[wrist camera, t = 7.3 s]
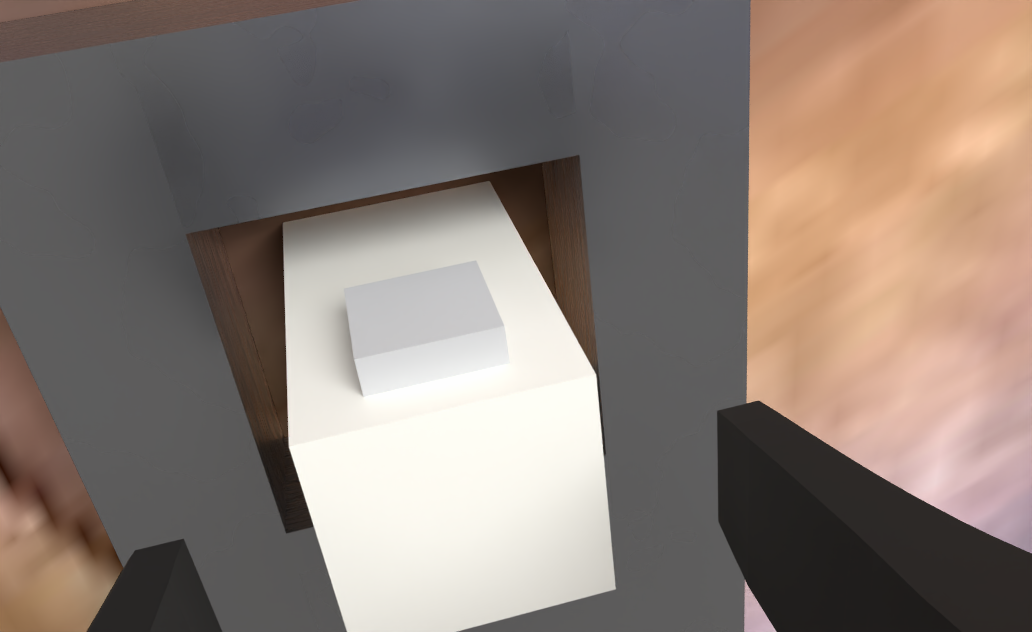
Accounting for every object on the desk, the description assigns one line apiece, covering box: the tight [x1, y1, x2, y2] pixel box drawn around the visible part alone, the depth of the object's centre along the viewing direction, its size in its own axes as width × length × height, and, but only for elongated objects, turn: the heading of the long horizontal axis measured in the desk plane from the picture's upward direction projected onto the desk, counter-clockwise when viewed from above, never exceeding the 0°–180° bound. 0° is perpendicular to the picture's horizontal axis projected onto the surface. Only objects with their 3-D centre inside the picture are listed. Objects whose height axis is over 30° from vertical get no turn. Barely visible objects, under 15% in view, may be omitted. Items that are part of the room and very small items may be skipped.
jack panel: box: [0, 0, 750, 632], centre depth 20 cm, size 24×12×3 cm, turn 7°
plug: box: [283, 181, 616, 632], centre depth 16 cm, size 5×4×7 cm
